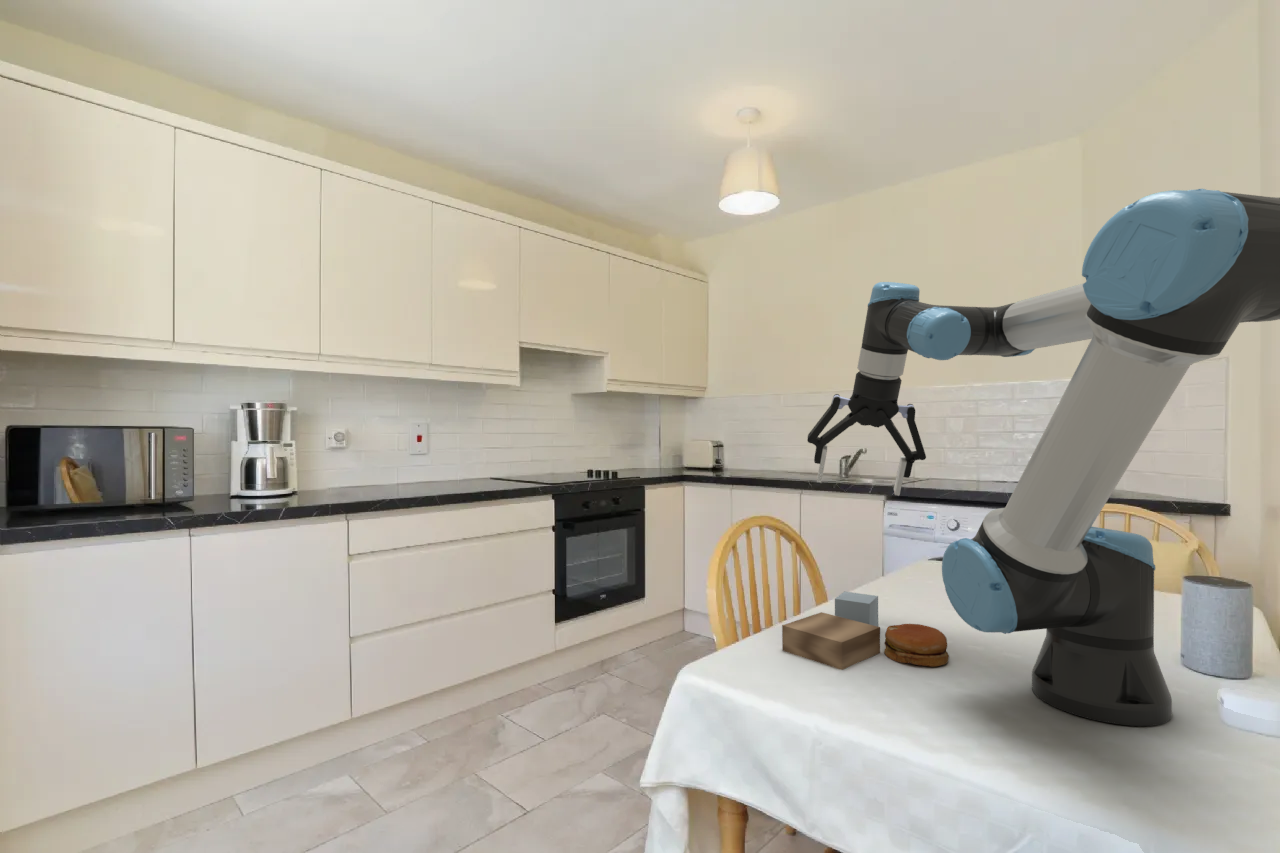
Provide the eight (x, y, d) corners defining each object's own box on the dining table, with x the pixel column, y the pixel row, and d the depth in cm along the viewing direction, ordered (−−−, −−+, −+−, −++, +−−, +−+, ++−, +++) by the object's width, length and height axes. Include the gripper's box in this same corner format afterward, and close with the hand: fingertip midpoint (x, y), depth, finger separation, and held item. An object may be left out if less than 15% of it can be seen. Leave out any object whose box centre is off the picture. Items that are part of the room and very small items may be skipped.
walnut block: (880, 654, 104) (880, 627, 104) (841, 672, 97) (841, 642, 97) (821, 637, 112) (821, 612, 112) (782, 652, 105) (782, 625, 105)
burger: (958, 670, 97) (957, 639, 97) (893, 667, 98) (893, 637, 98) (935, 647, 107) (935, 619, 107) (877, 646, 108) (877, 618, 108)
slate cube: (878, 629, 116) (878, 595, 116) (869, 638, 111) (869, 603, 111) (844, 623, 120) (844, 591, 120) (834, 632, 115) (834, 598, 115)
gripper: (952, 378, 112) (926, 489, 119) (806, 360, 118) (789, 467, 125) (961, 389, 105) (932, 506, 112) (804, 369, 111) (787, 482, 118)
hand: (857, 486), depth 118 cm, fingers open, 13 cm apart
